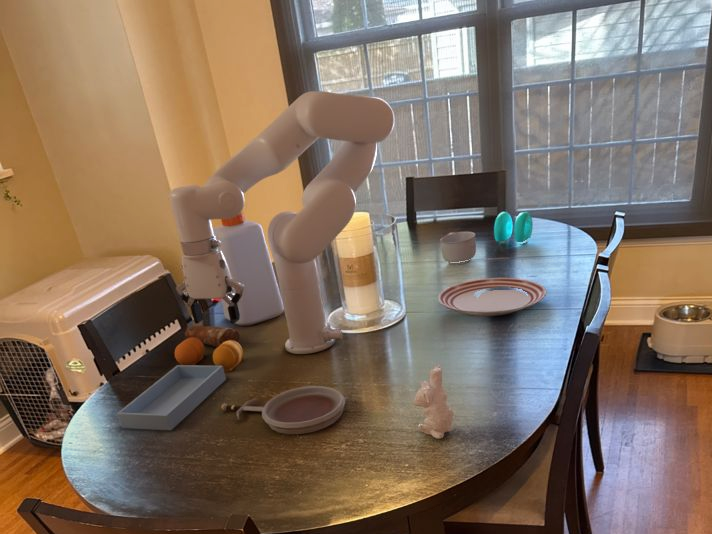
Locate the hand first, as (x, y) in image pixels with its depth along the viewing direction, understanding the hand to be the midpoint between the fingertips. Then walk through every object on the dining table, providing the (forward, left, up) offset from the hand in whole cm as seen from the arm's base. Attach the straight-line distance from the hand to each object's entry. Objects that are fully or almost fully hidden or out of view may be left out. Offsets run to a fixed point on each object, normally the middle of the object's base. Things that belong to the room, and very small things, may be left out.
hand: (217, 321), depth 157 cm
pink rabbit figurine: (-58, +28, -12) cm, 66 cm away
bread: (+13, -13, -12) cm, 22 cm away
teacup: (-40, -80, -12) cm, 91 cm away
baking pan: (+3, +19, -11) cm, 23 cm away
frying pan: (-24, +23, -12) cm, 35 cm away
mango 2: (0, 0, -11) cm, 11 cm away
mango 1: (+12, -2, -11) cm, 16 cm away
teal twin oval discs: (-55, -96, -12) cm, 112 cm away
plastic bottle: (+10, -34, -12) cm, 37 cm away
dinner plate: (-57, -39, -12) cm, 70 cm away
